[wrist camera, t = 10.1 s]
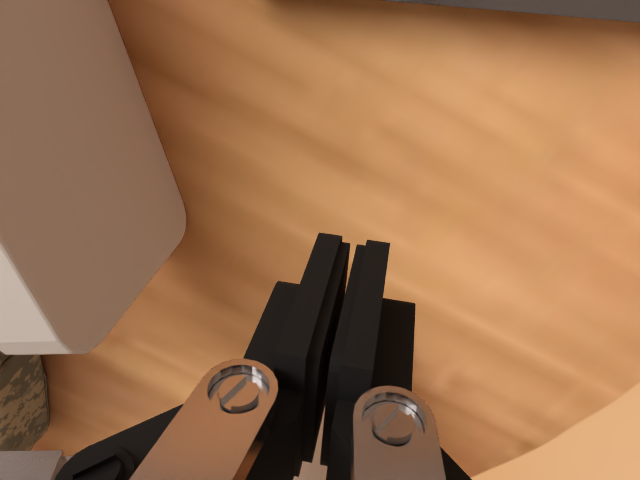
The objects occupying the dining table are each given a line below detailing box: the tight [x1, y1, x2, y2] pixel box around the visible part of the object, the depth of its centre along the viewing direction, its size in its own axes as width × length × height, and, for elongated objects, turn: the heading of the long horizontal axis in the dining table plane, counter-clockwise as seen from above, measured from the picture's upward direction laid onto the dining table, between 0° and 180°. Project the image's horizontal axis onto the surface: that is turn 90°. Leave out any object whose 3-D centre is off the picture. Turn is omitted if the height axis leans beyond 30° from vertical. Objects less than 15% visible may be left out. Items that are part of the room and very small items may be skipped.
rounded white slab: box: [0, 0, 186, 355], centre depth 33 cm, size 29×8×18 cm, turn 12°
